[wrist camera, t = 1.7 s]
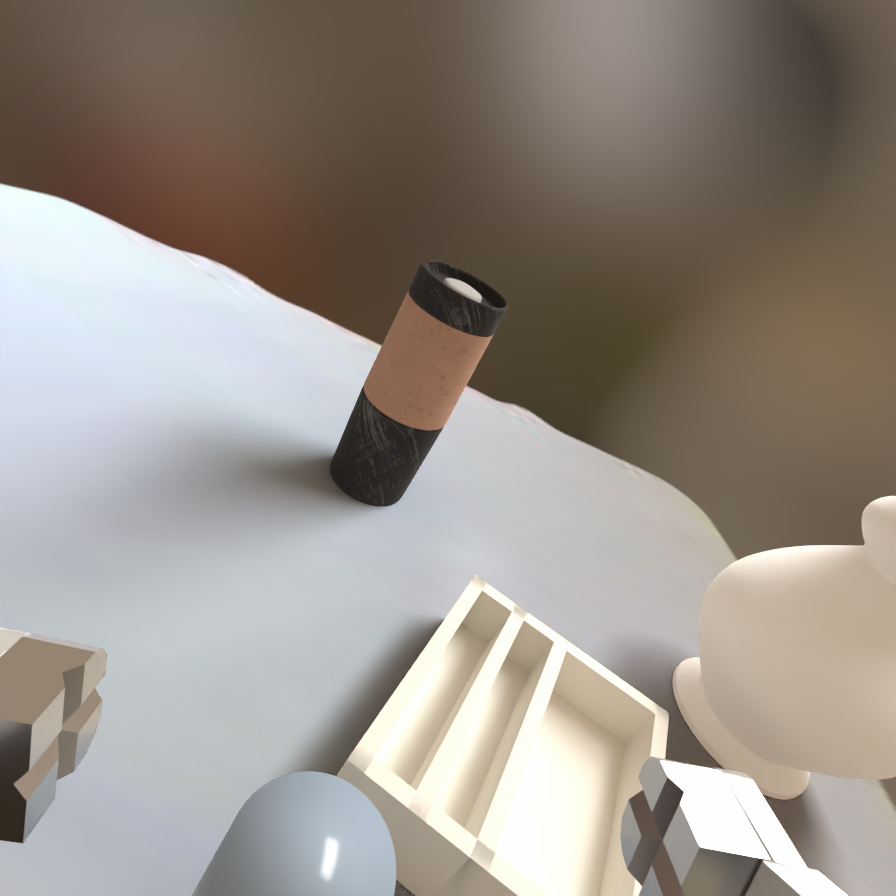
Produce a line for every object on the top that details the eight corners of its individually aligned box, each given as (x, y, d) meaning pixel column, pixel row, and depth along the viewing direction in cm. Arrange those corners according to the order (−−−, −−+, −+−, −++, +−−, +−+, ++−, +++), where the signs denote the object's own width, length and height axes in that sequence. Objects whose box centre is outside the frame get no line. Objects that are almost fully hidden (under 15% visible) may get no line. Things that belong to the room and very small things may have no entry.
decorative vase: (851, 891, 44) (1204, 670, 32) (631, 727, 47) (883, 474, 36) (820, 721, 59) (1051, 532, 48) (656, 607, 63) (837, 403, 51)
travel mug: (417, 509, 57) (527, 318, 48) (343, 507, 52) (448, 294, 43) (386, 456, 62) (480, 274, 53) (315, 449, 57) (405, 248, 48)
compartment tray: (312, 811, 32) (347, 759, 29) (446, 618, 47) (475, 575, 45) (584, 1034, 29) (643, 995, 27) (629, 751, 45) (669, 713, 43)
